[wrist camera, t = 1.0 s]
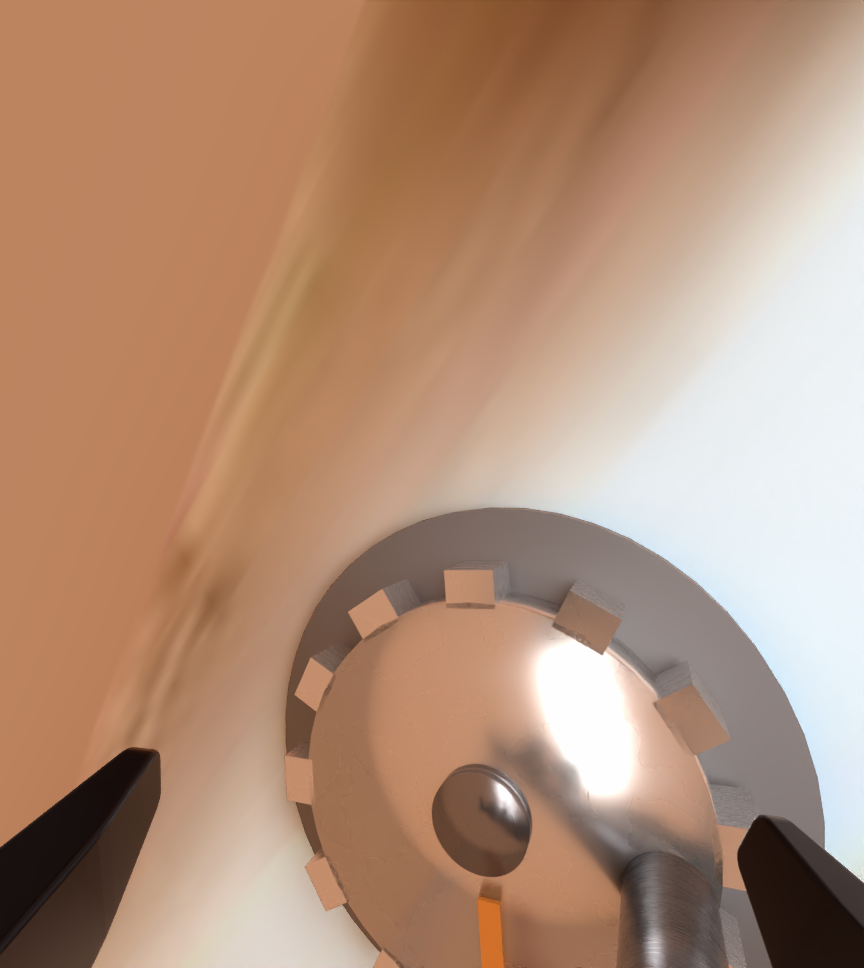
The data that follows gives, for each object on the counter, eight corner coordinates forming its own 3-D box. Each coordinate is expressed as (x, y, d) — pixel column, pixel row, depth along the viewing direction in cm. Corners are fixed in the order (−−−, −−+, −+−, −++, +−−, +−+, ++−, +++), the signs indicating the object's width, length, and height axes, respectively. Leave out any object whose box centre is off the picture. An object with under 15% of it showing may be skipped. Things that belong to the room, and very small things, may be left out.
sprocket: (835, 1020, 14) (1171, 1983, 5) (381, 1001, 20) (149, 1456, 11) (646, 506, 16) (644, 541, 7) (277, 617, 22) (-1, 720, 12)
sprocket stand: (925, 1056, 15) (972, 1155, 12) (369, 1023, 21) (338, 1083, 19) (685, 431, 17) (691, 425, 15) (250, 581, 23) (210, 591, 21)
